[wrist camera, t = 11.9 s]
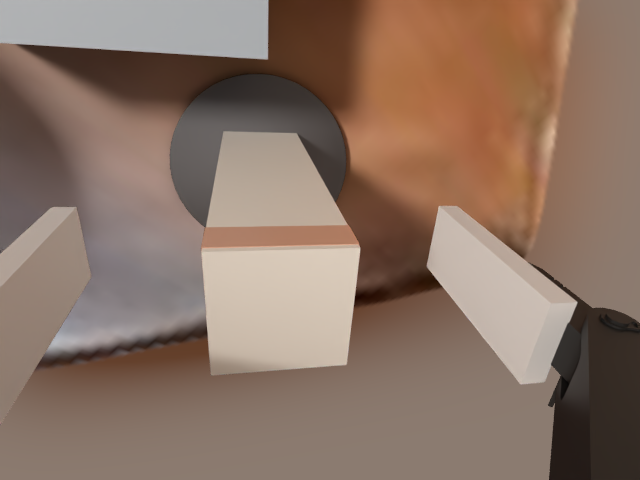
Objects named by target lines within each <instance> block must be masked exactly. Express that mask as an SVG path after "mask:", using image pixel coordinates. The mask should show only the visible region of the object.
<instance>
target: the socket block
mask: <svg viewBox="0 0 640 480" xmlns="http://www.w3.org/2000/svg"><path fill="white" fill-rule="evenodd" d="M0 43H11V44H27V45H43V46H59V47H75V48H91V49H107V50H123V51H139V52H155V53H172V54H188V55H204V56H220V57H236V58H252V59H268V0H0Z"/></svg>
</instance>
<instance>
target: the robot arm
mask: <svg viewBox="0 0 640 480" xmlns="http://www.w3.org/2000/svg"><path fill="white" fill-rule="evenodd" d="M427 268H428V269H429V270H430V272H431V273H432V274H433V275H434V277H435V278H436V279H437V280H438V282H439V283H440V284H441V285H442V287H443V288H444V289H445V290H446V292H447V293H448V294H449V295H450V297H451V298H452V299H453V300H454V302H455V303H456V304H457V305H458V307H459V308H460V309H461V310H462V312H463V313H464V314H465V315H466V317H467V318H468V319H469V320H470V321H471V323H472V324H473V325H474V327H475V328H476V329H477V330H478V332H479V333H480V334H481V335H482V337H483V338H484V339H485V340H486V342H487V343H488V344H489V345H490V347H491V348H492V349H493V350H494V352H495V353H496V354H497V356H498V357H499V358H500V359H501V361H502V362H503V363H504V364H505V366H506V367H507V368H508V369H509V371H510V372H511V373H512V374H513V376H514V377H515V378H516V379H517V381H518V382H519V383H520V384H532V383H542V382H545V380H546V378H547V375H548V373H549V370H550V368H551V366H553V367H554V368H555V369H556V370H557V371H558V372H559V374H560V375H561V376H560V379H559V381H558V383H557V386H556V388H555V390H554V392H553V395H552V398H551V399H550V402H549V404H548V406H550V407H553V405H554V403H555V410H554V424H553V437H552V449H551V461H550V475H549V480H640V323H639V322H637V321H636V320H635V319H632V318H631V317H629V316H628V315H626V314H623V313H620V312H618V311H615V310H611V309H606V308H592V307H590V306H589V305H588V304H586V303H585V302H584V301H583V300H581V299H580V298H579V297H577V296H576V295H575V294H573V293H572V292H571V291H570V290H568V289H567V288H566V287H563V285H562V284H560V282H558V281H557V280H554V278H553V277H552V276H551V275H549V274H548V273H547V272H545V271H544V270H543V269H541V268H539V267H537V266H535V265H533V264H531V263H529V262H527V261H525V260H524V259H523V258H522V257H520V256H519V255H518V254H517V253H515V252H514V251H513V250H512V249H510V248H509V247H508V246H507V245H505V244H504V243H503V242H501V241H500V240H499V239H498V238H496V237H495V236H494V235H493V234H491V233H490V232H489V231H488V230H486V229H485V228H484V227H483V226H481V225H480V224H479V223H478V222H476V221H475V220H474V219H473V218H471V217H470V216H469V215H468V214H466V213H465V212H464V211H463V210H461V209H460V208H459V207H458V206H439V209H438V214H437V218H436V223H435V228H434V233H433V238H432V243H431V247H430V252H429V257H428V262H427ZM90 279H91V272H90V268H89V263H88V258H87V254H86V249H85V244H84V239H83V235H82V230H81V225H80V220H79V216H78V211H77V207H51V208H50V209H49V210H48V211H47V212H46V213H45V214H43V215H42V216H41V217H40V218H39V219H38V220H37V221H36V222H35V223H34V224H32V225H31V226H30V227H29V228H28V229H27V230H26V231H25V232H24V233H23V234H22V235H20V236H19V237H18V238H17V239H16V240H15V241H14V242H13V243H12V244H11V245H10V246H8V247H7V248H6V249H5V250H4V251H3V252H2V253H1V254H0V425H1V423H2V421H3V420H4V418H5V417H6V415H7V413H8V412H9V410H10V409H11V407H12V405H13V404H14V402H15V400H16V399H17V397H18V395H19V394H20V392H21V391H22V389H23V387H24V386H25V384H26V383H27V381H28V379H29V378H30V376H31V374H32V373H33V371H34V370H35V368H36V366H37V365H38V363H39V361H40V360H41V358H42V357H43V355H44V353H45V352H46V350H47V348H48V347H49V345H50V344H51V342H52V340H53V339H54V337H55V335H56V334H57V332H58V331H59V329H60V327H61V326H62V324H63V322H64V321H65V319H66V318H67V316H68V314H69V313H70V311H71V309H72V308H73V306H74V305H75V303H76V301H77V300H78V298H79V296H80V295H81V293H82V292H83V290H84V288H85V287H86V285H87V283H88V282H89V280H90Z"/></svg>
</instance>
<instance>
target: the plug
mask: <svg viewBox="0 0 640 480" xmlns="http://www.w3.org/2000/svg"><path fill="white" fill-rule="evenodd" d="M201 254H202V267H203V280H204V293H205V306H206V319H207V332H208V345H209V359H210V372H211V375H225V374H237V373H250V372H262V371H276V370H288V369H301V368H314V367H327V366H340V365H347V358H348V350H349V342H350V333H351V324H352V316H353V308H354V299H355V291H356V282H357V274H358V265H359V257H360V246H359V242H358V240H357V239H356V237H355V235H354V233H353V232H352V230H351V228H350V226H349V225H347V223H346V221H345V219H344V217H343V216H342V214H341V212H340V210H339V208H338V207H337V205H336V203H335V201H334V199H333V198H332V196H331V194H330V192H329V191H328V189H327V187H326V185H325V183H324V182H323V180H322V178H321V176H320V174H319V173H318V171H317V169H316V167H315V165H314V164H313V162H312V160H311V158H310V156H309V155H308V153H307V151H306V149H305V147H304V146H303V144H302V142H301V140H300V138H299V137H298V135H297V133H271V132H233V131H223V137H222V142H221V148H220V153H219V159H218V164H217V170H216V175H215V180H214V186H213V191H212V197H211V202H210V208H209V213H208V219H207V224H206V227H205V230H204V235H203V241H202V246H201Z"/></svg>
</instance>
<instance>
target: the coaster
mask: <svg viewBox="0 0 640 480" xmlns="http://www.w3.org/2000/svg"><path fill="white" fill-rule="evenodd" d="M223 131H233V132H271V133H297V135H298V137H299V138H300V140H301V142H302V144H303V146H304V147H305V149H306V151H307V153H308V155H309V156H310V158H311V160H312V162H313V164H314V165H315V167H316V169H317V171H318V173H319V174H320V176H321V178H322V180H323V182H324V183H325V185H326V187H327V189H328V191H329V192H330V194H331V196H332V198H333V199H334V201H335V202H336V200H337V198H338V196H339V194H340V191H341V189H342V185H343V182H344V178H345V172H346V151H345V145H344V141H343V137H342V134H341V131H340V129H339V126H338V124H337V122H336V121H335V119H334V117H333V115H332V114H331V113H330V111H329V110H328V108H327V107H326V106H325V105H324V104H323V103H322V102H321V101H320V100H319V99H318V98H317V97H316V96H315V95H314V94H312V93H311V92H310V91H308V90H307V89H305V88H304V87H302V86H300V85H299V84H297V83H295V82H292V81H290V80H288V79H285V78H281V77H278V76H274V75H266V74H246V75H239V76H235V77H231V78H228V79H225V80H223V81H220V82H218V83H216V84H214V85H212V86H211V87H209V88H208V89H206V90H205V91H203V92H202V93H201V94H200V95H199V96H198V97H196V98H195V99H194V100H193V101H192V103H191V104H190V105H189V106H188V107H187V109H186V110H185V111H184V113H183V115H182V116H181V118H180V120H179V122H178V124H177V126H176V129H175V131H174V134H173V138H172V142H171V149H170V169H171V175H172V179H173V182H174V186H175V189H176V191H177V193H178V195H179V197H180V199H181V201H182V203H183V204H184V206H185V207H186V209H187V210H188V211H189V212H190V214H191V215H192V216H193V217H194V218H195V219H196V220H197V221H198V222H199V223H200V224H201V225H203V226H204V227H206V224H207V219H208V213H209V208H210V202H211V197H212V191H213V186H214V180H215V175H216V170H217V164H218V159H219V153H220V148H221V142H222V137H223Z"/></svg>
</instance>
